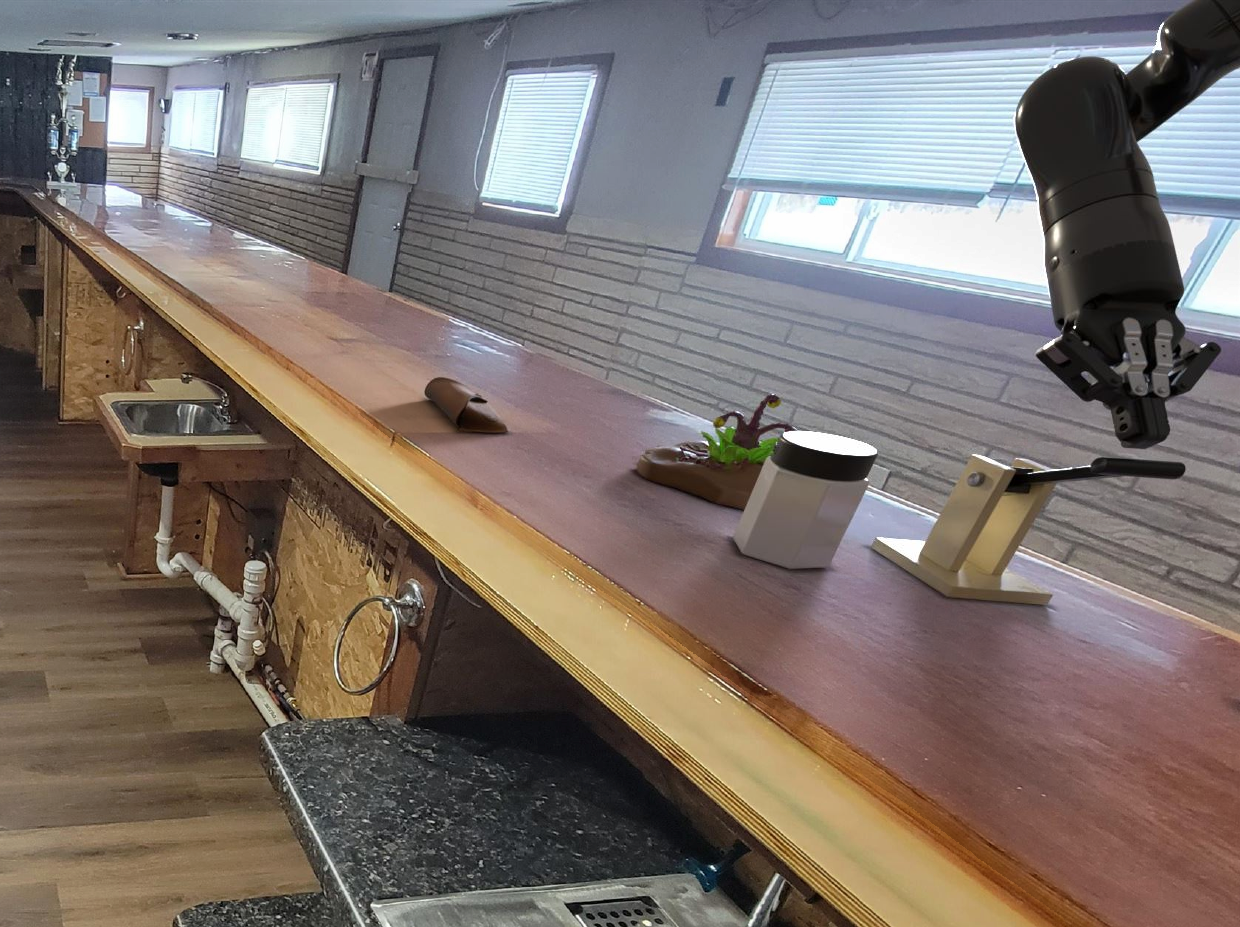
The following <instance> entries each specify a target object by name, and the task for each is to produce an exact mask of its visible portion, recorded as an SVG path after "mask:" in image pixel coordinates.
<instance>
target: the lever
mask: <svg viewBox="0 0 1240 927" xmlns="http://www.w3.org/2000/svg"><path fill="white" fill-rule="evenodd" d="M1009 467H1010V468H1012V469H1015V470H1016V472H1015V474H1014V476H1013V477H1012V479H1011V481H1010V483H1009V484H1008V486H1007V488H1006V490H1005V491H1004V493H1003V495H1002V496H1010V495H1022V494H1029V493H1030V487H1031V485H1040V484H1051V483H1057V484H1060V483H1061V484H1062V483H1069V482H1080V481H1091V480H1101V479H1110V478H1111V479H1112V478H1121V477H1132V478H1145V479H1161V480H1178V479H1180V478H1181V477H1183V476H1184V475H1185V473H1186V470H1187V467H1186V465H1185V464H1184V463H1183V462H1180V461H1171V460H1169V461H1168V460H1156V459H1143V458H1129V457H1128V458H1127V457H1115V456H1113V457H1112V456H1098V457H1096V458H1094V459H1093V460H1092V462H1091V463H1090V465H1087V466H1080V467H1069V468H1061V469H1053V470H1052V471H1043V472H1034V473H1033V470H1034V469H1031V468H1017V467H1011V466H1009Z"/></svg>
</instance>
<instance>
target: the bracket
mask: <svg viewBox="0 0 1240 927" xmlns="http://www.w3.org/2000/svg"><path fill="white" fill-rule="evenodd" d="M1010 467H1017V468H1031V469H1034V470H1033V473H1034V472H1043V471H1052V470H1054V469H1053V468H1050V467H1047V466H1045V465H1043V464H1040V463H1038V462H1036V461H1033V460H1030V459H1028V458H1022V457H1016V458H1015V459H1014V460H1013V463H1012V464H1011V466H1008V465H1006V464H1003V463H1001V462H998V461H996V460H994V459H991V458H989V457H986V456H985V455H980V454H972V455H971V456H970V459H969V460H968V461H967V464H966V465H965V467H964V470H963V471H962V473H961V475H960V477H959V478H958V481H957V482H956V484H955V486H954V488H953V490H952V492H951V493H950V495H949V497H948V499H947V500H946V503H945V504H944V506H943V508H942V510H941V512H940V514H939V516H938V518H937V519H936V521H935V523H934V525H933V526H932V529H931V531H930V533H929V534H928V536H927V537H926V540H925V541H923V540H913V539H912V540H911V539H898V538H888V537H887V538H886V537H875V538H874V540H873V542H872V544H871V546H870V548H871V549H872V550H874V551H875V552H877V553H878V554H880V555H882V556H883V557H885V558H887V559H888V560H890V561H891V562H893V563H894V564H896V565H897V566H898V567H900V568H902V569H903V570H905V571H907V572H908V573H910V575H913V576H915V577H916V578H917V579H919V580H920V581H922V582H923V583H924V584H927V585H928V586H930V587H931V588H933V589H935V591H937V592H939V593H940V594H942V595H943V596H945V597H946V598H956V599H967V600H977V601H979V600H980V601H990V602H1002V603H1016V604H1028V605H1038V606H1039V605H1040V606H1047V605H1048V604H1049V603H1050V601H1051V599H1052V598H1053V596H1054V594H1053V593H1051V592H1050V591H1048V590H1046V589H1044V588H1042V586H1039V585H1037V584H1036V583H1034V582H1031V581H1030V580H1028V579H1026V578H1025V577H1023V576H1021V575H1020V574H1018V573H1016V572H1014V571H1012V570H1010V569H1009V568H1008V566H1009V564H1010V563H1011V560H1012V559H1013V557H1014V555H1015V554H1016V553H1017V550H1018V549H1019V547H1020V546H1021V544H1022V542H1023V540H1024V539H1025V537H1026V536H1027V534H1028V532H1029V530H1031V527H1032V526H1033V524H1034V522H1035V520H1036V519H1037V517H1038V515H1039V514H1040V512H1041V511H1042V509H1043V507H1044V505H1045V504H1046V502H1047V500H1048V499H1049V497H1050V495H1051V494H1052V492H1053V491H1054V490H1055V488H1056V485H1057V484H1058V483H1051V484H1040V485H1031V487H1030V493H1029V494H1022V495H1010V496H1002V495H1003V493H1004V491H1005V490H1006V488H1007V486H1008V484H1009V483H1010V481H1011V479H1012V477H1013V476H1014V474H1015V472H1016V470H1015V469H1012V468H1010Z"/></svg>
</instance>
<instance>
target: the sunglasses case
mask: <svg viewBox="0 0 1240 927" xmlns="http://www.w3.org/2000/svg"><path fill="white" fill-rule="evenodd" d="M423 391H424V392H423V394H424V397H426V398H427V399H428V400H430V401H432V402H434V403H435V404H436V406H438V407H439V408H440V409H441V410H442V411H443V412H444V414H446V415H447V417H448V418H449V419H450V420H451V421H452V422H453V423H454V424H455V425H456V426H457V428H458V430H459V431H460V432H467V433H475V434H506V433H509V428H508V426H507V424H506V423H505V421H504V420H503V419H502V418H501V416H500V415H499V414H498V412H497V411H496V410H495V409H494V408H493V407H491V406H490V404H488V402H489V400H488V399H487V398H486V397H485V396H483V395H482V394H480V393H479V392H477V391H475V390H474V389H472V388H470V387H469V386H468V385H466V384H464V383H462V382H460V381H458V380H455V379H451V378H449V377H444V376H438V377H437V376H436V377H434V378H433V379H431V380H430V381H429V382H428V383H427V384H426V385H425V388H424V390H423Z"/></svg>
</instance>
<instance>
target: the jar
mask: <svg viewBox="0 0 1240 927" xmlns="http://www.w3.org/2000/svg"><path fill="white" fill-rule="evenodd" d="M778 438H779V439H778V442H777V443H776V444H775V446H774V449H773V453H772V456H768V457H767V458H766V460H765V463H764V465H763V467H762V470H761V472H760V474H759V477H758V479H757V481H756V484H755V486H754V489H753V491H752V493H751V496H750V498H749V500H748V503H747V505H746V508H745V510H743V512H742V514H741V517H740V519H739V522H738V524H737V527H736V529H735V532H734V533H733V536H732V539H733V541H734V542H735V545H736V546H737V548H738V549H739V551H740V552H741V554H742V555H744V556H747V557H749V558H753V559H757V560H760V561H763V562H766V563H769V564H772V565H775V566H778V567H781V568H785V569H788V570H799V569H800V570H802V569H826V568H828V567H830V565H831V563H832V561H833V559H834V556H835V555H836V552H837V551H838V549H839V547H840V545H841V543H842V540H843V538H844V537H845V534H846V533H847V531H848V528H849V526H850V524H851V522H852V520H853V519H854V516H855V514H856V512H857V510H858V508H859V505H860V503H861V501H862V500H863V497H864V496H865V493H866V491H867V489H868V487H869V486H870V483H871V481H870V480H869V479H868V476H869V474H870V472H871V471H872V468H873V465H874V464H875V461H876V460H877V457H878V456H879V452H878V450H877V449H876V448H875V447H873V446H871V445H869V444H868V443H865V442H862V441H858V440H856V439H851V438H848V437H844V436H839V435H835V434H828V433H824V432H823V433H822V432H814V431H805V430H804V431H802V430H797V431H791V432H785V431H784V432H783V433H781V434H780V435H779V437H778Z"/></svg>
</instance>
